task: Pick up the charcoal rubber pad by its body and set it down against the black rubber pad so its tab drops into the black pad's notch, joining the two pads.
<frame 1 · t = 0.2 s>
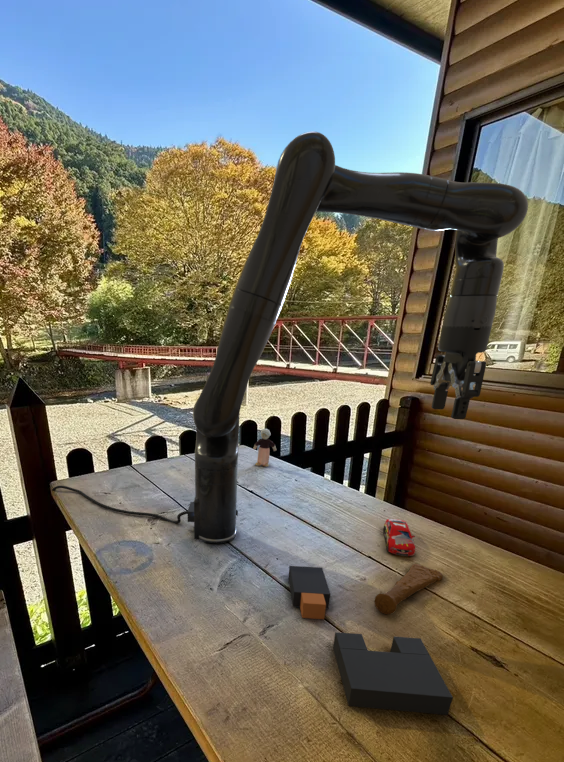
hand: (447, 413, 79), 29 cm above the table, tool pointing down, fingers open, 8 cm apart
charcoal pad: (307, 593, 74), on the table
primitive tool: (405, 590, 75), on the table
race car: (397, 543, 90), on the table
grandmother figurine: (263, 465, 138), on the table
black pad: (385, 678, 56), on the table
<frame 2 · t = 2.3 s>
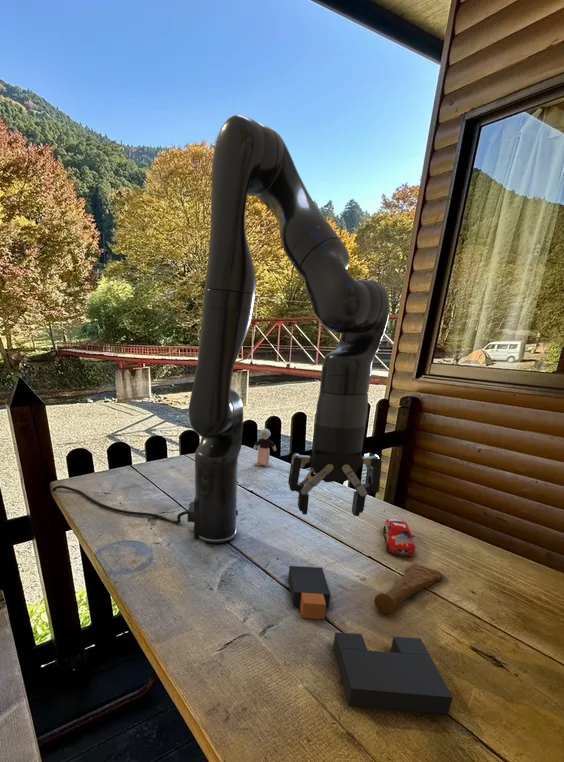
hand: (329, 513, 70), 15 cm above the table, tool pointing down, fingers open, 8 cm apart
nothing on the table moved.
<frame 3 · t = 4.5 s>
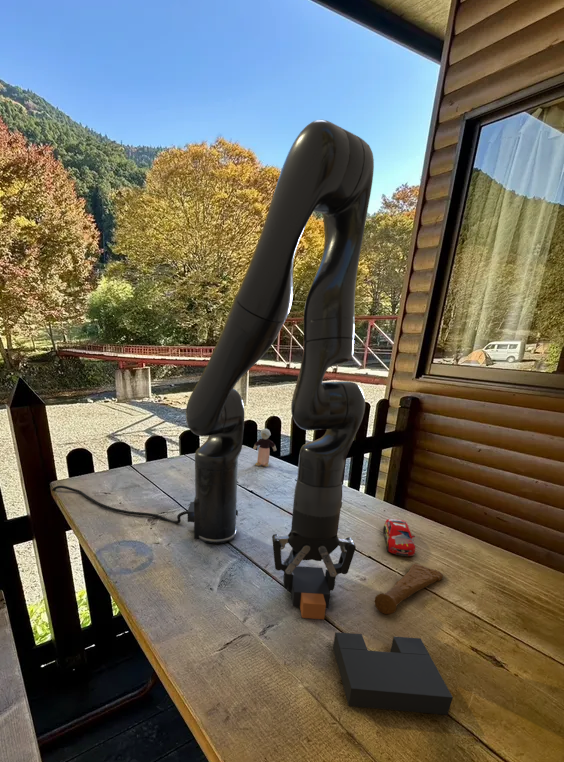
hand: (307, 589, 74), 1 cm above the table, tool pointing down, fingers closed on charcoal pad, 6 cm apart
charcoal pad: (307, 593, 74), on the table, touching gripper
everything else where it was.
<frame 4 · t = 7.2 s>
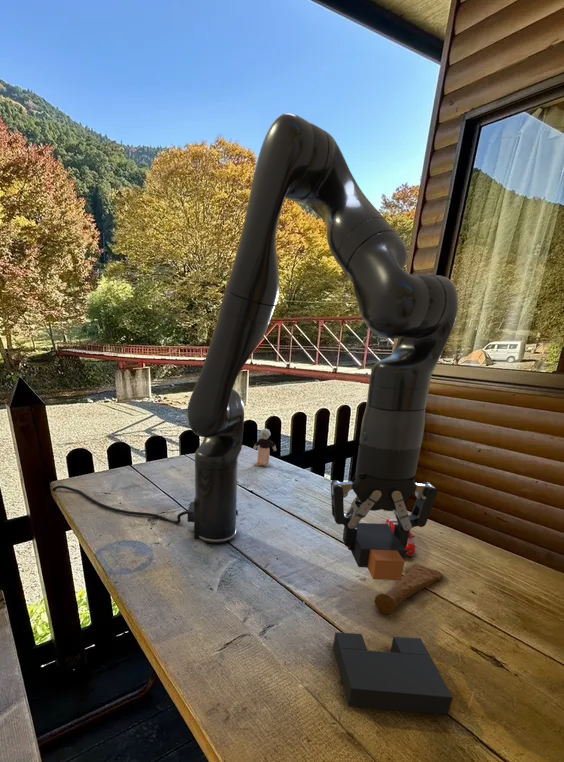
hand: (372, 548, 61), 14 cm above the table, tool pointing down, fingers closed on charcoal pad, 6 cm apart
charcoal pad: (372, 553, 61), point 14 cm above the table, touching gripper
everything else where it was.
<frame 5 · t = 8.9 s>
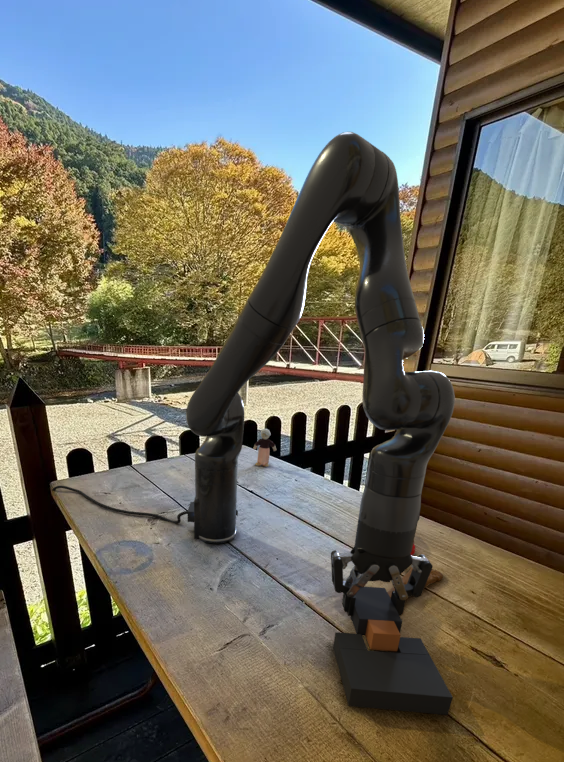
hand: (370, 613, 64), 3 cm above the table, tool pointing down, fingers closed on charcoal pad, 6 cm apart
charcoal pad: (370, 618, 64), point 3 cm above the table, touching gripper
everything else where it was.
when the fingers open (1 cm above the table, at t = 10.2 s): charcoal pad stays where it is, on the table.
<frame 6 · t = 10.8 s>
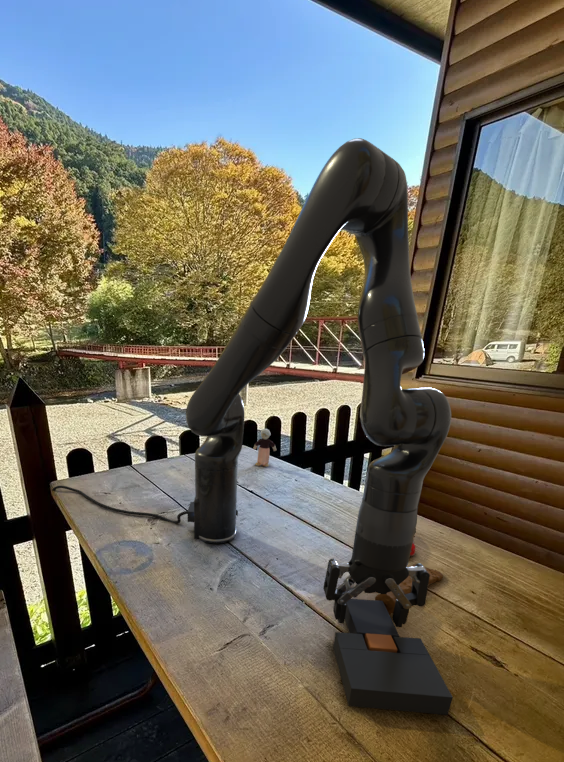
hand: (367, 621, 64), 2 cm above the table, tool pointing down, fingers open, 8 cm apart
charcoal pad: (367, 631, 65), on the table
everything else where it was.
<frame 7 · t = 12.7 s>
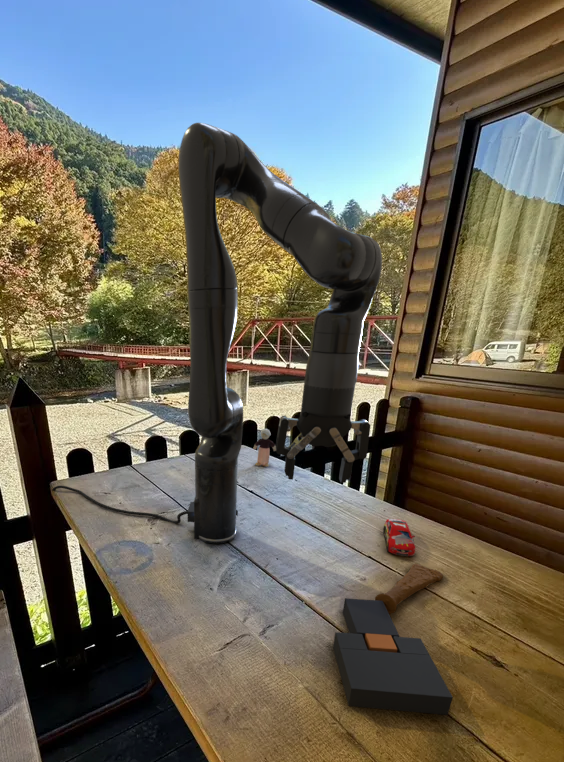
hand: (315, 479, 69), 21 cm above the table, tool pointing down, fingers open, 8 cm apart
nothing on the table moved.
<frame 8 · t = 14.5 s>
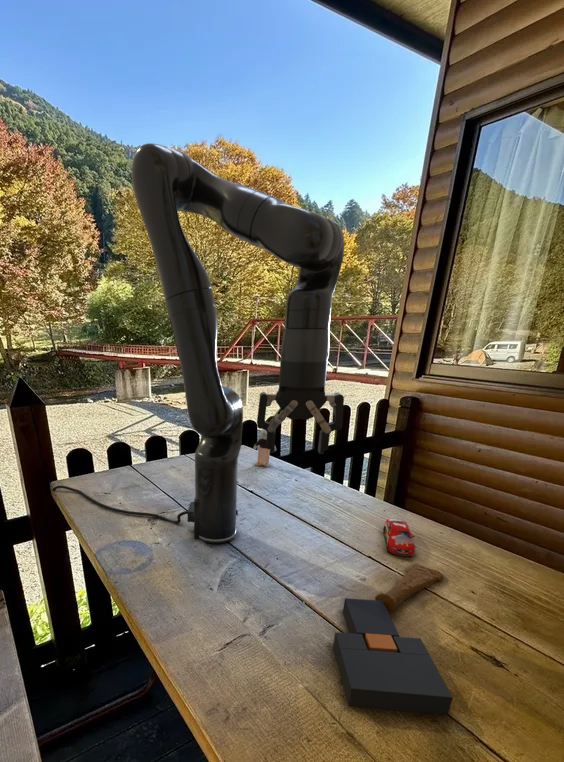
hand: (296, 452, 73), 24 cm above the table, tool pointing down, fingers open, 8 cm apart
nothing on the table moved.
at the end: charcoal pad 0.1 cm from the target spot, on the table; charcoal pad tilted 0°; the gripper is holding nothing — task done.
